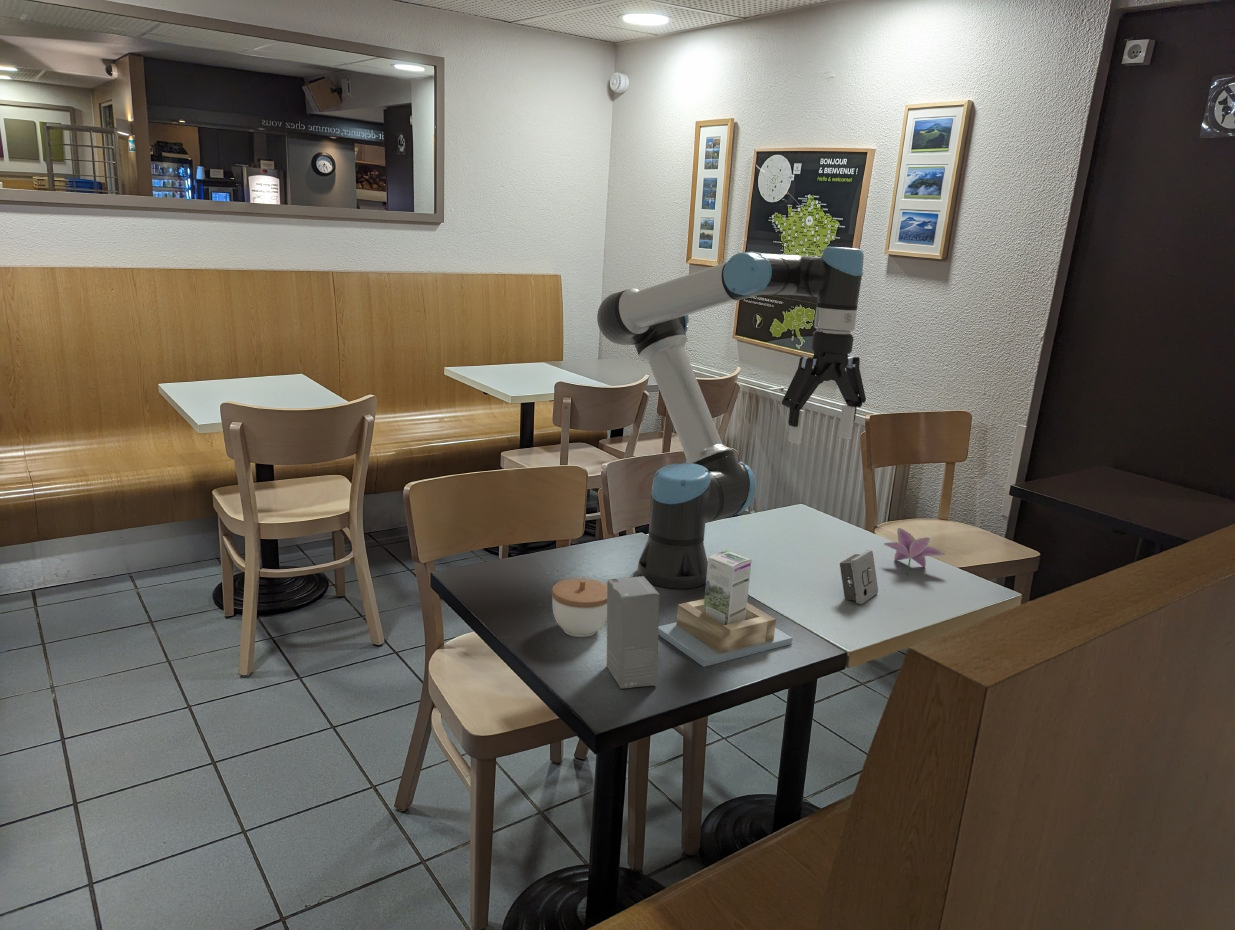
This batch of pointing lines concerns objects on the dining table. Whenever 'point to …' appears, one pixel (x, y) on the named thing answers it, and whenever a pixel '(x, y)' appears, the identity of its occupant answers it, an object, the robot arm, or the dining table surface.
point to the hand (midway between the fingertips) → (819, 440)
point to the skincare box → (632, 631)
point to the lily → (912, 548)
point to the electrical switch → (859, 577)
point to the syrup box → (727, 587)
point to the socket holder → (721, 634)
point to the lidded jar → (580, 606)
